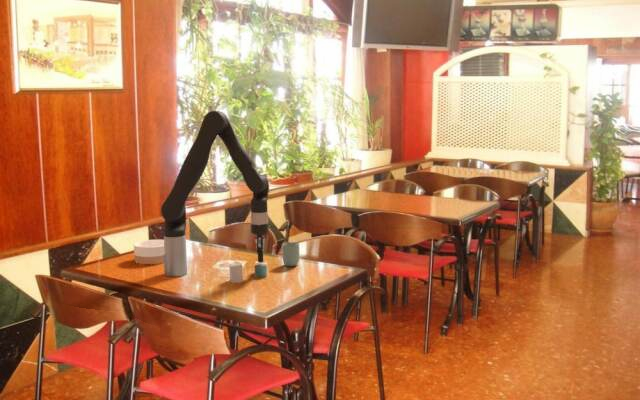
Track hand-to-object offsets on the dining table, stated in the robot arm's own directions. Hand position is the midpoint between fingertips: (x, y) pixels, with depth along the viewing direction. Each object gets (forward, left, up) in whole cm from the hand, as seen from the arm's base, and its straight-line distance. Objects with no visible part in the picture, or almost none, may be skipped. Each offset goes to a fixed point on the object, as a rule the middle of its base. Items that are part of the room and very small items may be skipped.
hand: (260, 261), depth 300 cm
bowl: (-52, +33, -6) cm, 62 cm away
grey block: (-10, -8, -6) cm, 14 cm away
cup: (+13, +16, -6) cm, 22 cm away
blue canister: (0, -2, -4) cm, 4 cm away
